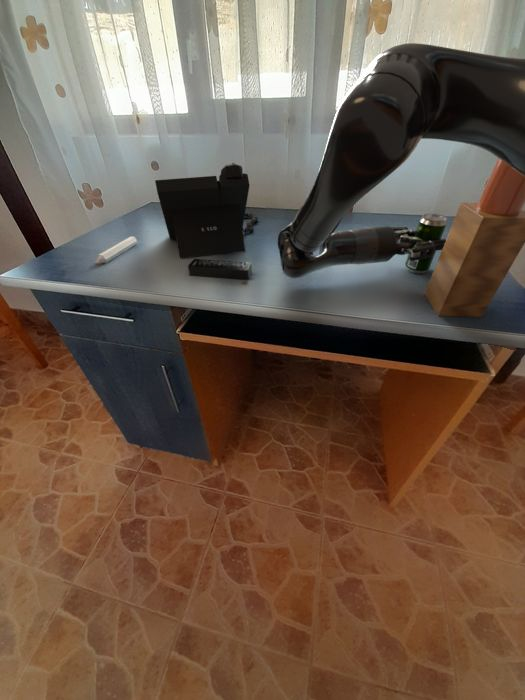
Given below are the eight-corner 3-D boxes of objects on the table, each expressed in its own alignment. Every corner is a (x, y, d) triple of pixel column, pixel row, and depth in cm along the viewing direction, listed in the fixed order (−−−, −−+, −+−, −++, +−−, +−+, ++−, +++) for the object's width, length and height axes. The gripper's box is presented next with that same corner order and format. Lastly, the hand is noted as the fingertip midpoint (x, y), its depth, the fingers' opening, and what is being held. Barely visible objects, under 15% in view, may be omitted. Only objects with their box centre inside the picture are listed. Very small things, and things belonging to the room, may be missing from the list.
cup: (506, 204, 50) (535, 147, 44) (528, 216, 45) (562, 153, 40) (469, 204, 50) (493, 147, 45) (487, 215, 46) (515, 153, 40)
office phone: (255, 216, 103) (253, 146, 90) (279, 247, 82) (282, 162, 69) (168, 224, 97) (153, 151, 84) (171, 259, 77) (152, 170, 64)
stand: (463, 295, 62) (509, 203, 50) (481, 317, 56) (539, 218, 44) (424, 294, 63) (460, 202, 51) (438, 315, 57) (483, 217, 45)
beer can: (422, 276, 69) (442, 222, 61) (400, 268, 72) (416, 217, 64) (432, 268, 72) (452, 217, 64) (410, 262, 74) (427, 211, 67)
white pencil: (96, 270, 74) (134, 245, 86) (100, 267, 73) (138, 242, 85) (88, 261, 73) (128, 237, 84) (92, 258, 72) (132, 234, 83)
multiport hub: (248, 280, 68) (247, 270, 67) (188, 275, 70) (187, 266, 69) (252, 271, 71) (251, 262, 70) (195, 267, 73) (193, 258, 72)
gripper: (389, 240, 57) (466, 233, 60) (356, 217, 68) (423, 212, 70) (379, 276, 62) (451, 268, 65) (350, 249, 73) (413, 243, 75)
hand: (436, 239), depth 67 cm, fingers closed on beer can, 5 cm apart
